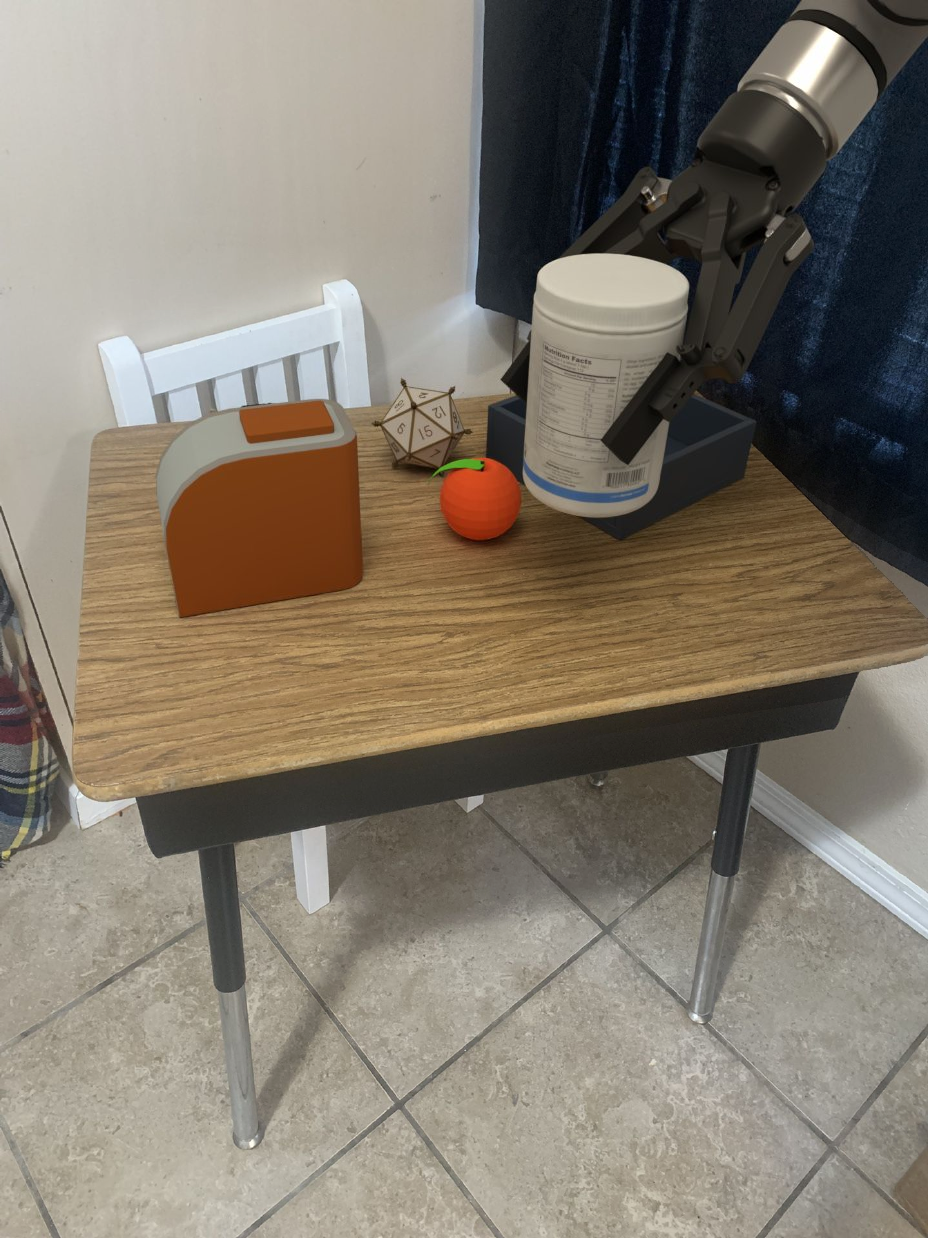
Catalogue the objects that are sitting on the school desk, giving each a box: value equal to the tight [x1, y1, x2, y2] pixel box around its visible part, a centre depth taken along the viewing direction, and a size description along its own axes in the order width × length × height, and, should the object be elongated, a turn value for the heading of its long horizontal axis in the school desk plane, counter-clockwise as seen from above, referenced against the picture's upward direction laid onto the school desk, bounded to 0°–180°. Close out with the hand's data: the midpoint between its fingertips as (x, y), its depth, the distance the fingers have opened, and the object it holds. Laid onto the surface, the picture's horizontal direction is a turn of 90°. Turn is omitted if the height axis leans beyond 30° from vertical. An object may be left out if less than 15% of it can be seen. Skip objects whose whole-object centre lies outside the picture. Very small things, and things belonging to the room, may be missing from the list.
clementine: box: [427, 457, 522, 541], centre depth 83 cm, size 8×7×7 cm
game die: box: [370, 377, 474, 478], centre depth 92 cm, size 9×8×10 cm
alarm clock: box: [155, 398, 364, 618], centre depth 75 cm, size 15×8×14 cm, turn 108°
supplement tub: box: [523, 254, 690, 518], centre depth 64 cm, size 10×10×15 cm
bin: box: [485, 393, 758, 541], centre depth 93 cm, size 18×18×6 cm
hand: (561, 420), depth 63 cm, fingers closed on supplement tub, 9 cm apart
